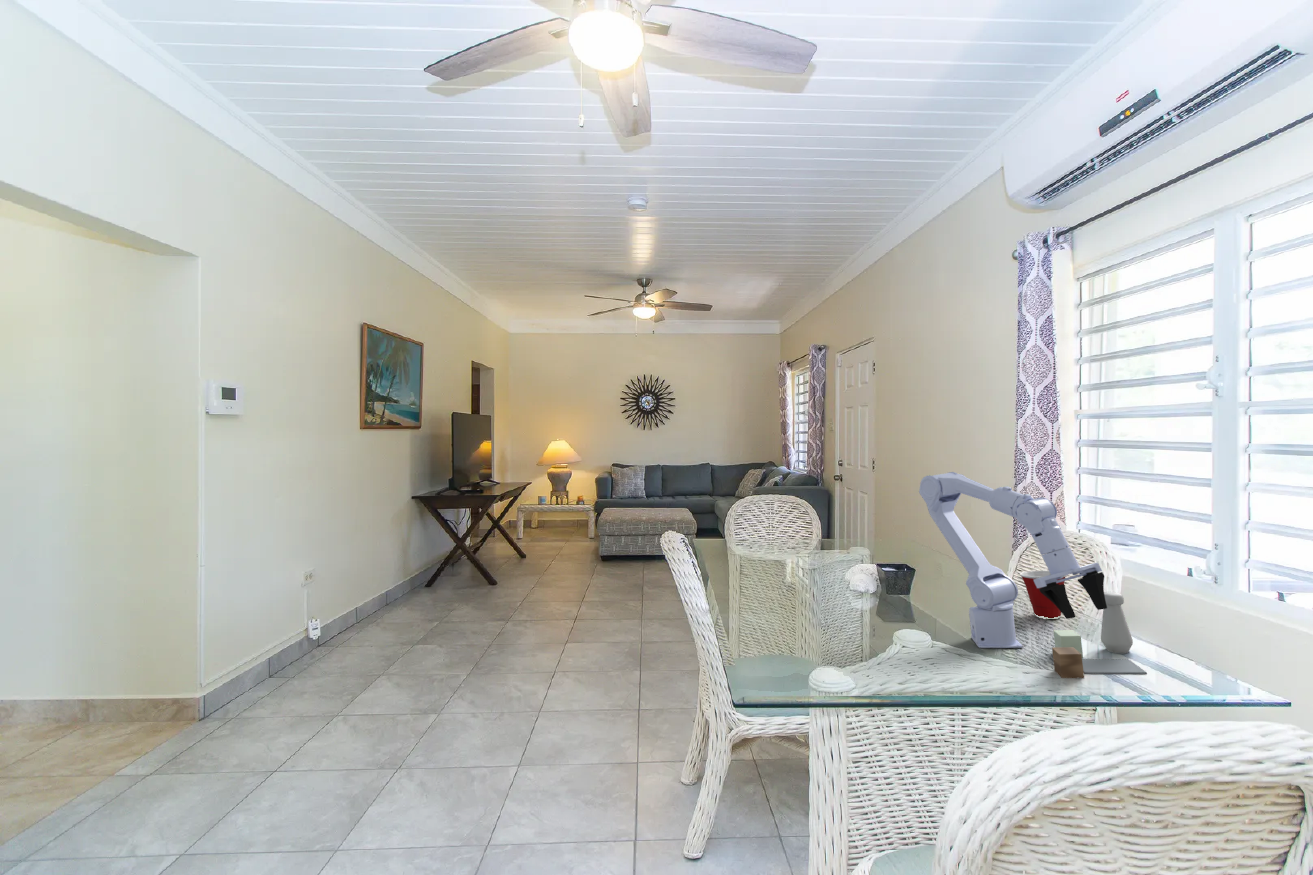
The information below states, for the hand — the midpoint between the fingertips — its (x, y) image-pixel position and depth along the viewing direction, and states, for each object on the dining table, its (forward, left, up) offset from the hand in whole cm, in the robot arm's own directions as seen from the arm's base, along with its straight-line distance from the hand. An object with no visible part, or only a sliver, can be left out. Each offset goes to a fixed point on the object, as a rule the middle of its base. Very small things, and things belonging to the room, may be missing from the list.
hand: (1086, 613), depth 125 cm
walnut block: (-5, -2, -12) cm, 13 cm away
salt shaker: (+9, +11, -12) cm, 19 cm away
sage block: (-1, +9, -12) cm, 15 cm away
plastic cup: (+4, +37, -12) cm, 39 cm away
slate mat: (+3, +2, -12) cm, 12 cm away
